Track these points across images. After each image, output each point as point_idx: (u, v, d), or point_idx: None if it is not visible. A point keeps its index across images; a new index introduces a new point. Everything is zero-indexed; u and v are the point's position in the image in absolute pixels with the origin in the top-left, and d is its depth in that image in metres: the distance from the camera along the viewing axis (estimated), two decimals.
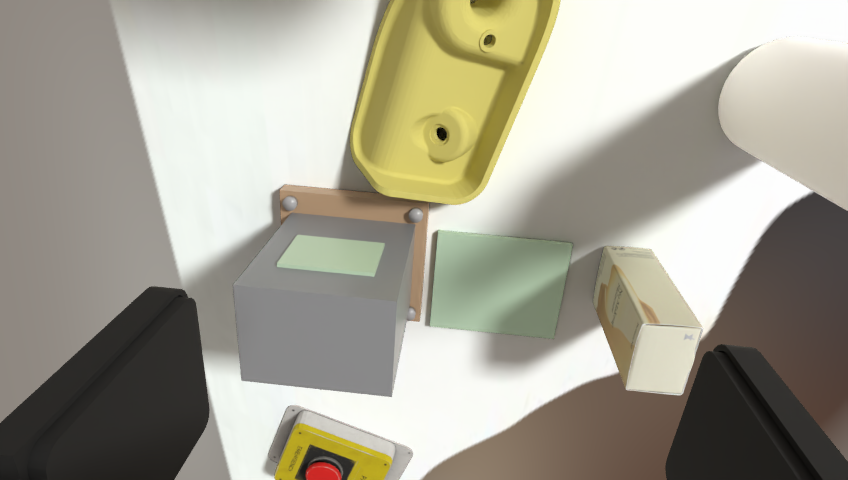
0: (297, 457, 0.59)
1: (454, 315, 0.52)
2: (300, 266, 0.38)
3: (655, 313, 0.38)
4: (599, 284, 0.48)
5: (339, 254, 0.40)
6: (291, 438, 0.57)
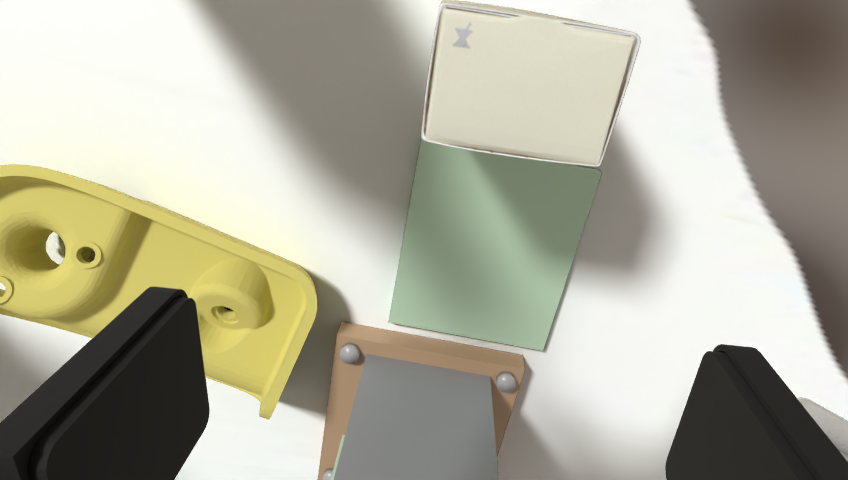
0: None
1: (528, 317, 0.33)
2: None
3: None
4: None
5: None
6: None
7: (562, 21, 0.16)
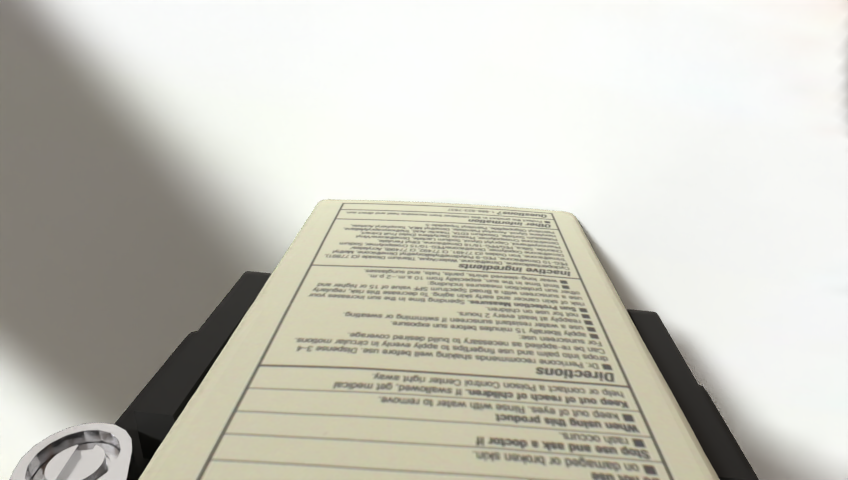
0: None
1: None
2: None
3: None
4: None
5: None
6: None
7: None
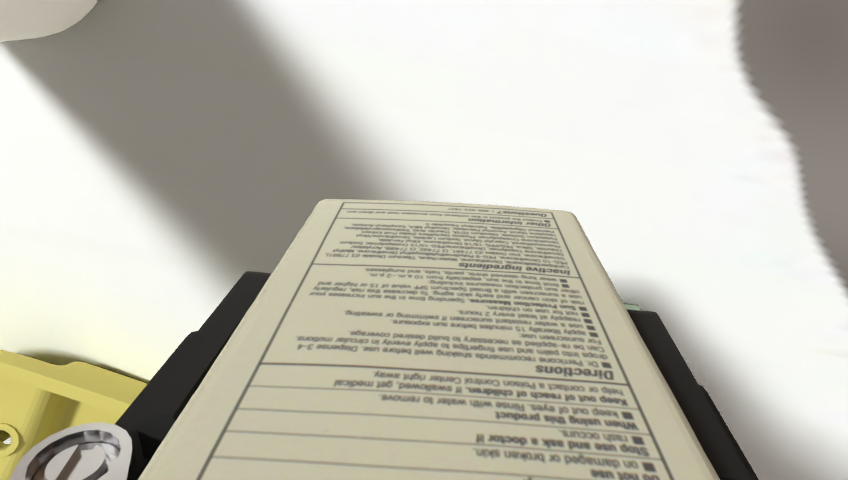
0: None
1: None
2: None
3: None
4: None
5: None
6: None
7: None
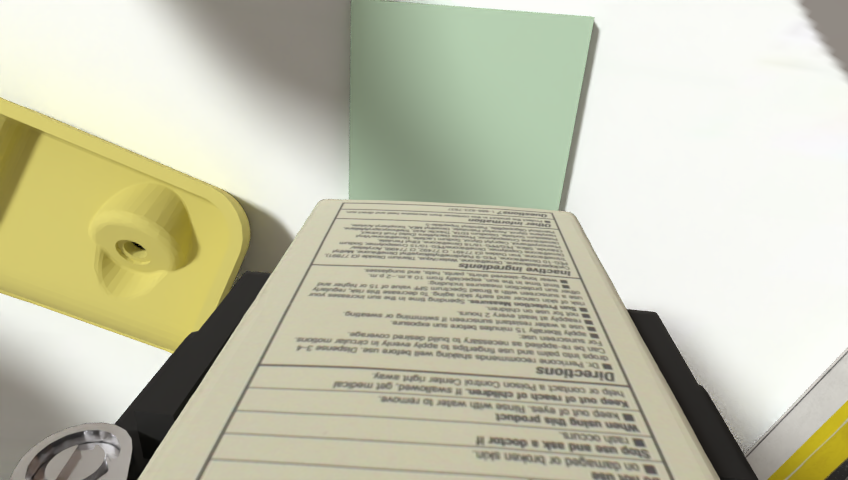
0: None
1: None
2: None
3: None
4: None
5: None
6: None
7: None
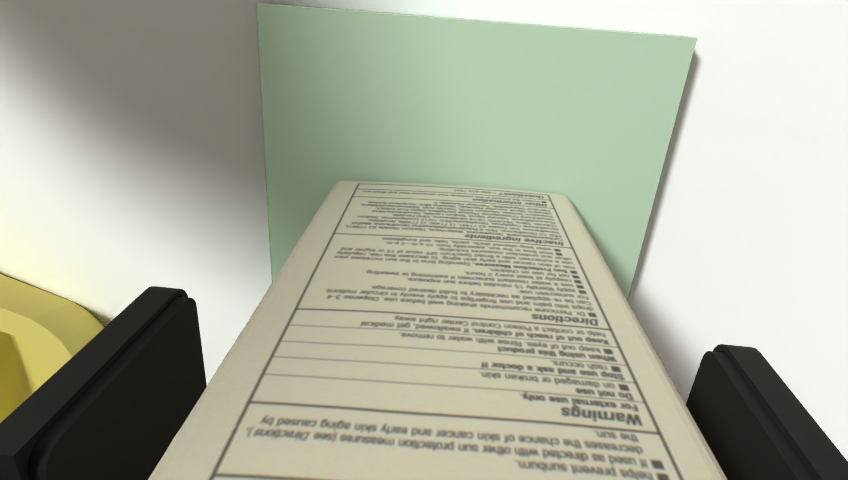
0: None
1: None
2: None
3: None
4: None
5: None
6: None
7: None
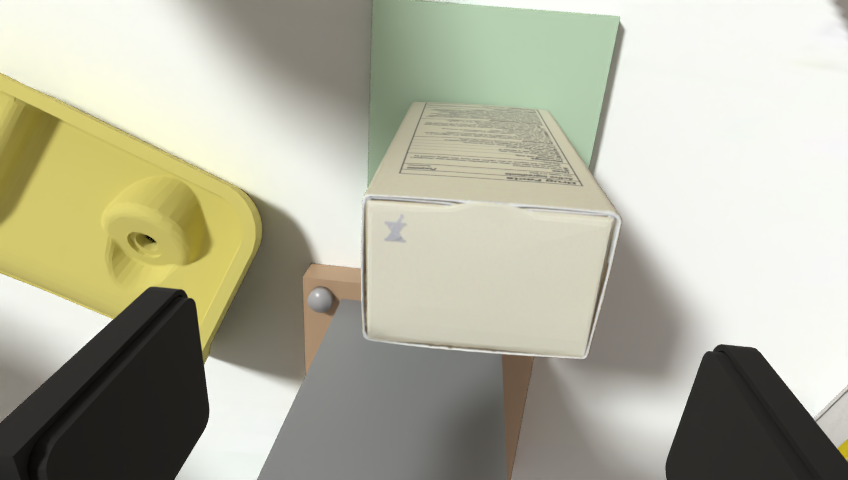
0: None
1: None
2: None
3: None
4: None
5: None
6: None
7: (517, 205, 0.13)
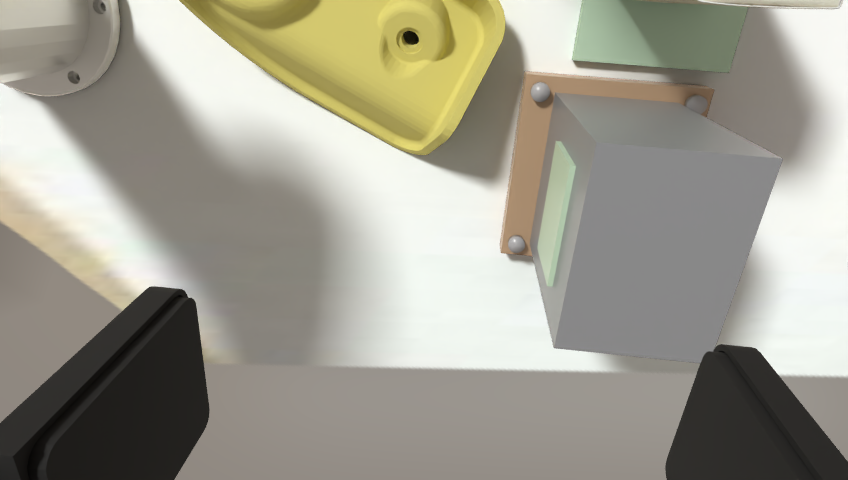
0: None
1: (715, 33, 0.34)
2: (553, 259, 0.30)
3: None
4: None
5: (553, 204, 0.31)
6: None
7: None
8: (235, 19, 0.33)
